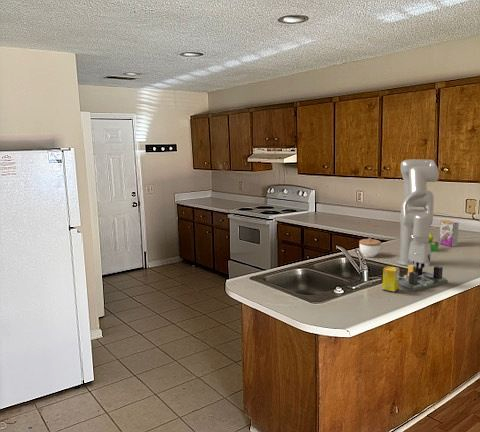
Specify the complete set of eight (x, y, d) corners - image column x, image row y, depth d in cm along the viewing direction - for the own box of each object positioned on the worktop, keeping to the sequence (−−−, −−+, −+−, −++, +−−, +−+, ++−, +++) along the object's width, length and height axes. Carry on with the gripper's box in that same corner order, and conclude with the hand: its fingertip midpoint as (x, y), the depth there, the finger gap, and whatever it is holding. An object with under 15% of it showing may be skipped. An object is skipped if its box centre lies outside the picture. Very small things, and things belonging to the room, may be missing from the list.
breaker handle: (411, 276, 227) (412, 264, 226) (416, 277, 225) (416, 265, 224) (407, 277, 226) (408, 265, 225) (412, 278, 224) (413, 266, 222)
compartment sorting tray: (424, 275, 234) (425, 260, 233) (447, 282, 222) (448, 267, 221) (389, 283, 222) (390, 268, 221) (412, 291, 210) (413, 275, 209)
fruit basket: (419, 251, 282) (420, 234, 280) (418, 247, 291) (419, 231, 289) (438, 252, 279) (440, 235, 277) (437, 249, 287) (438, 232, 285)
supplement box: (386, 287, 217) (387, 265, 215) (398, 289, 213) (400, 268, 211) (381, 290, 212) (382, 268, 210) (394, 293, 208) (395, 270, 206)
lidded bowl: (354, 254, 276) (355, 237, 274) (369, 252, 282) (370, 235, 280) (368, 259, 265) (369, 241, 263) (384, 256, 271) (385, 239, 269)
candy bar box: (438, 243, 301) (440, 220, 299) (443, 242, 303) (445, 219, 300) (451, 247, 291) (453, 223, 288) (457, 246, 293) (459, 222, 290)
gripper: (403, 237, 223) (401, 272, 226) (429, 243, 210) (426, 280, 213) (413, 235, 227) (411, 270, 230) (439, 241, 214) (436, 277, 217)
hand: (418, 275), depth 222 cm, fingers closed
